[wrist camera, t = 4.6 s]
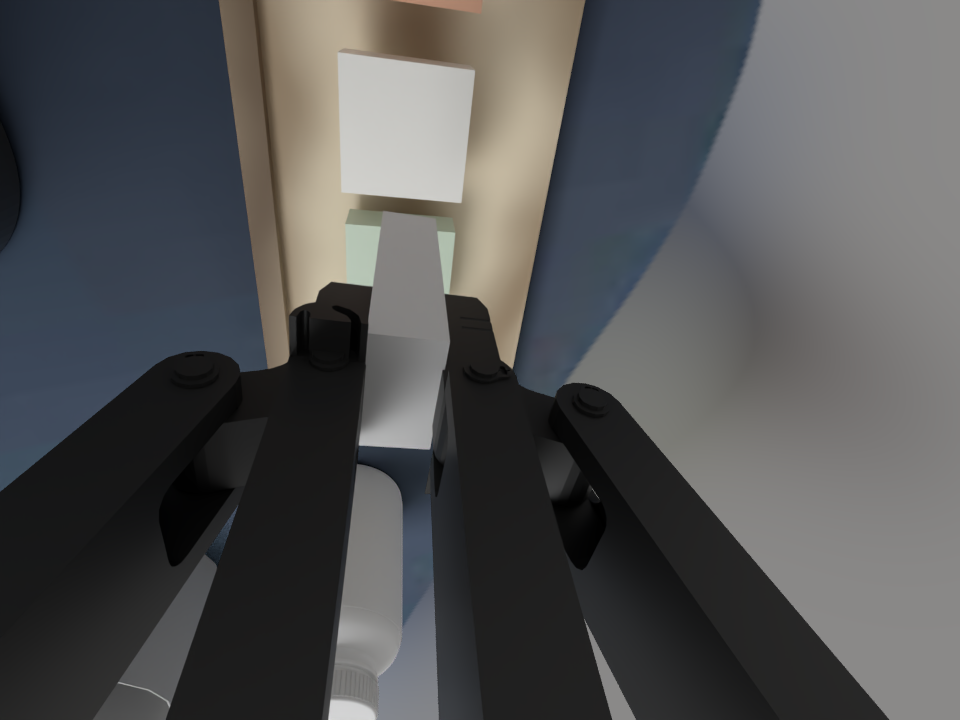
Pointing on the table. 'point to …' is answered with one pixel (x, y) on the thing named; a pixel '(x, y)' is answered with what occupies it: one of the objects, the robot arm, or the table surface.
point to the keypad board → (316, 141)
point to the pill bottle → (369, 597)
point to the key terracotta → (451, 4)
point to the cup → (161, 655)
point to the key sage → (366, 239)
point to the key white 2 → (403, 125)
